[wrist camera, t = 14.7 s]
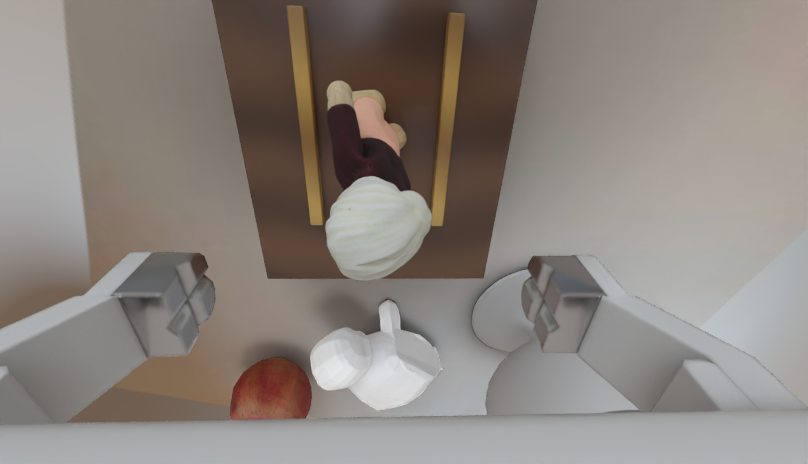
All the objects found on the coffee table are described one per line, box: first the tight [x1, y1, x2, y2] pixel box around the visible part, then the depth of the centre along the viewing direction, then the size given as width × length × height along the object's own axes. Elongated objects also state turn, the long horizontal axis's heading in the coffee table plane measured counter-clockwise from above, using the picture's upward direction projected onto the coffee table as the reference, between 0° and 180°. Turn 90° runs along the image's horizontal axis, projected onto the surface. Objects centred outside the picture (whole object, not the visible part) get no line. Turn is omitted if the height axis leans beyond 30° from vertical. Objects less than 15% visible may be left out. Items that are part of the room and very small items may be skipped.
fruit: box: [230, 357, 312, 420], centre depth 37 cm, size 8×8×10 cm
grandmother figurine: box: [325, 81, 432, 281], centre depth 16 cm, size 8×4×13 cm, turn 39°
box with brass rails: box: [212, 0, 537, 279], centre depth 24 cm, size 22×16×8 cm
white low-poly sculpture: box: [310, 300, 444, 411], centre depth 36 cm, size 9×8×15 cm
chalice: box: [472, 270, 641, 415], centre depth 32 cm, size 14×14×15 cm
